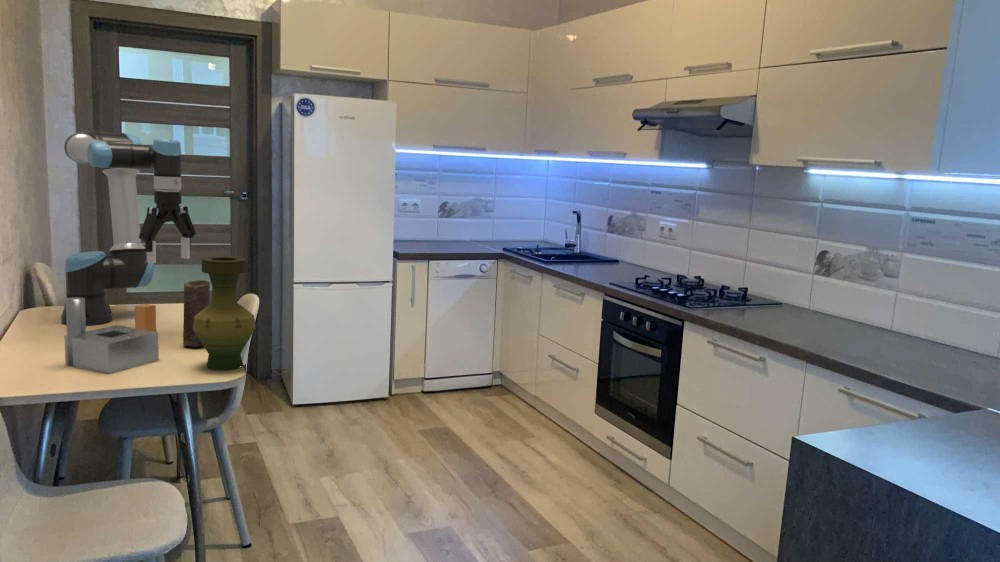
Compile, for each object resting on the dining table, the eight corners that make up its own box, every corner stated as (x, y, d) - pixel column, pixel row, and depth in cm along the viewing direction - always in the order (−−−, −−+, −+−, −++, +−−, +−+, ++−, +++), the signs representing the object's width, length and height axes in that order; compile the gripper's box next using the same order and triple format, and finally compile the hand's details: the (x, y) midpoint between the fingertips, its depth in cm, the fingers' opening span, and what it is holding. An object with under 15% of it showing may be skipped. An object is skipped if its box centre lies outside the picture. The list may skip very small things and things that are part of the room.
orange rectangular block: (135, 344, 216) (134, 305, 214) (146, 342, 220) (145, 303, 218) (145, 346, 215) (144, 307, 213) (156, 343, 218) (155, 305, 217)
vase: (267, 362, 205) (267, 258, 200) (234, 376, 189) (233, 264, 185) (216, 356, 208) (215, 253, 204) (180, 370, 193) (178, 259, 188)
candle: (215, 345, 220) (214, 281, 217) (198, 350, 213) (197, 284, 210) (195, 342, 222) (194, 278, 219) (177, 347, 216) (176, 281, 213)
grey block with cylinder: (64, 364, 192) (61, 299, 189) (116, 352, 207) (114, 290, 204) (108, 373, 186) (106, 306, 183) (158, 360, 201) (157, 297, 198)
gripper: (144, 192, 203) (146, 265, 206) (207, 191, 226) (207, 257, 230) (124, 190, 205) (126, 263, 209) (188, 189, 229) (189, 255, 232)
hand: (168, 260), depth 219 cm, fingers open, 13 cm apart
